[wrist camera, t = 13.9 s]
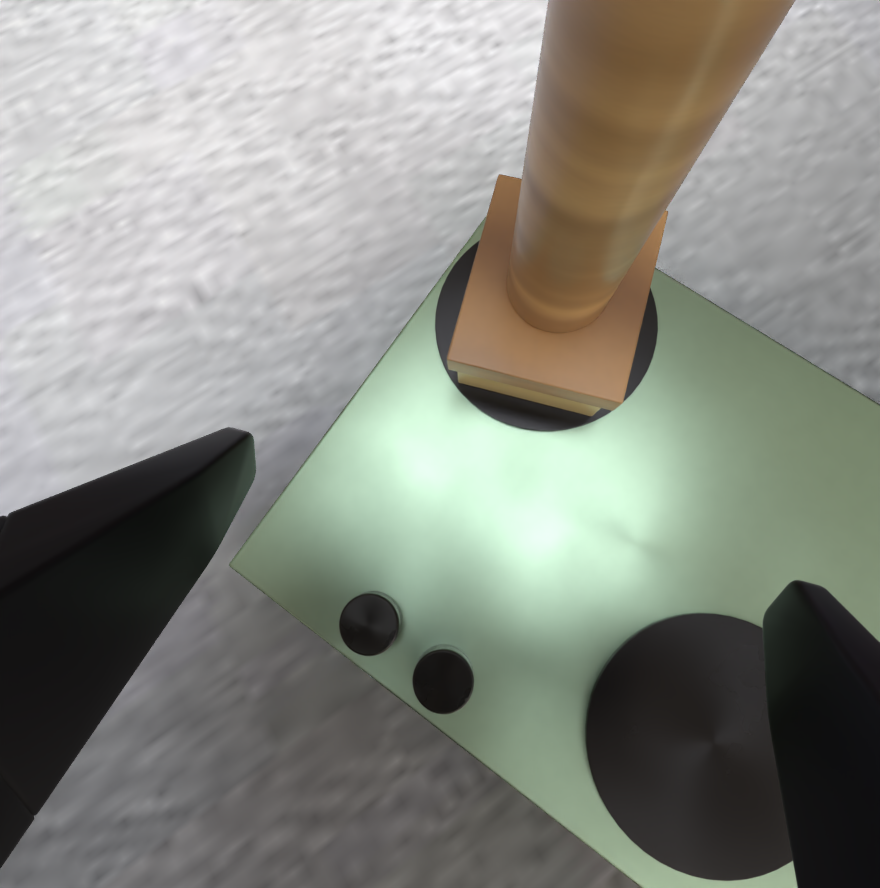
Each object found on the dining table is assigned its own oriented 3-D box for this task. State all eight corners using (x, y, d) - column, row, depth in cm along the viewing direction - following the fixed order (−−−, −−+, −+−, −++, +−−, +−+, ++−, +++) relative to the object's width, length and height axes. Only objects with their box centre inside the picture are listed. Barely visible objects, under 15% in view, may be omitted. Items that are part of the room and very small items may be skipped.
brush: (597, 424, 17) (1103, 23, 3) (449, 386, 18) (378, -103, 4) (636, 262, 18) (1187, -611, 4) (493, 230, 18) (565, -657, 5)
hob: (751, 948, 17) (807, 1031, 14) (251, 561, 19) (215, 567, 17) (1006, 520, 18) (1101, 519, 16) (508, 211, 21) (514, 164, 18)
